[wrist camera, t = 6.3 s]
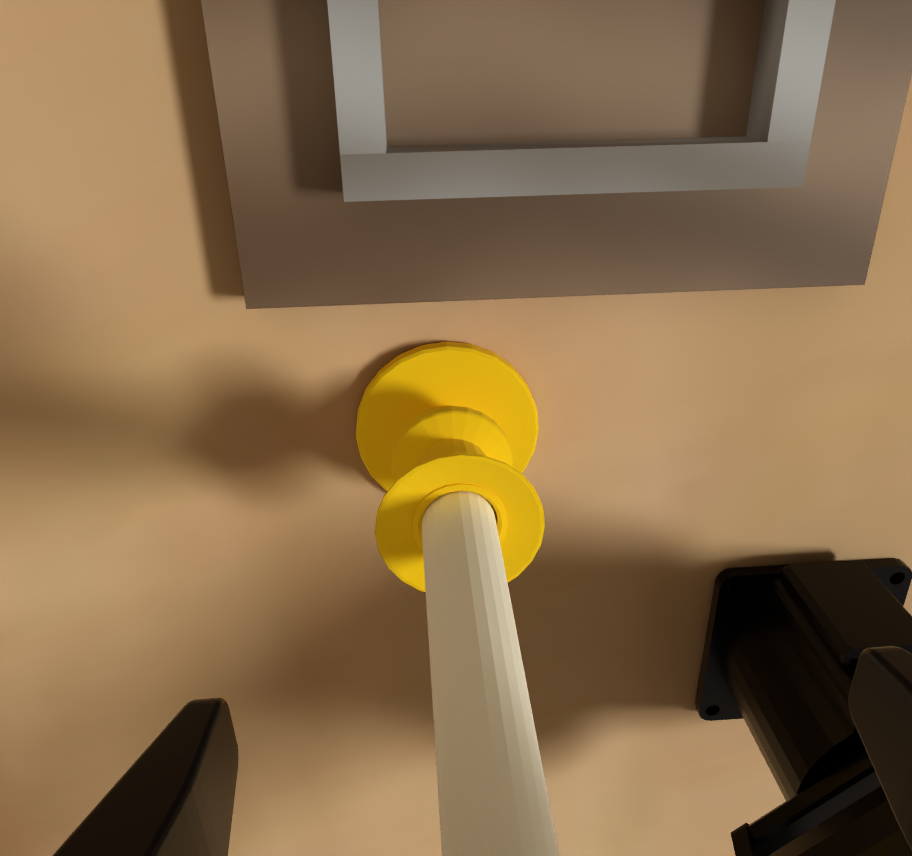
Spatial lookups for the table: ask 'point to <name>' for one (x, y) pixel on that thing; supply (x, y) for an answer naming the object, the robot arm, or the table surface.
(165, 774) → the robot arm
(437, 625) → the candle
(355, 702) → the table surface
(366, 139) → the socket board
